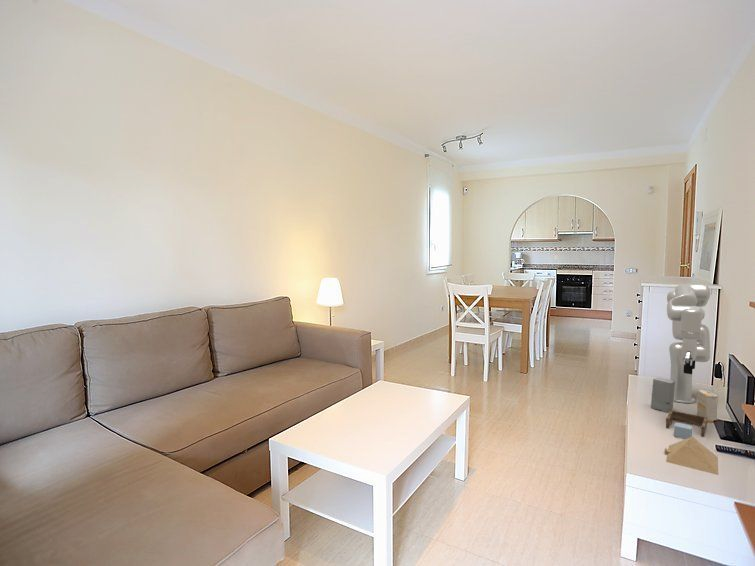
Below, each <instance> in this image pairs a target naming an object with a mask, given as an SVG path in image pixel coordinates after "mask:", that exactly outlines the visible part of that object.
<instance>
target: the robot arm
mask: <svg viewBox="0 0 755 566" xmlns="http://www.w3.org/2000/svg"><path fill="white" fill-rule="evenodd" d="M710 297H711V289H710V288H709V286H708V285H706V284H705V283H704V284H703V283H681V284H678V285H677V286H676V287H675V288H674V290H673V291H669V292H668V293H667V295H666V301H667V304H666V315H667V318H668V319H669V320H670V321H671V323H672V325H671V326H672V329H671V331H672V337H673V339H675V340H678V342H677V341H676V342H673V343H671V344H670V345H669V347H668V350H669V357H670V378H669V380H673V381H675V389H674V400H673V402H677V403H682V404H693V403H695V402H696V399H695V398H694V397H693V396H692V392H693V391H692V388H693V370H695V369H696V362H697V363H707V362H709V361H710V357H711V341H710V340H711V339H710V338H711V337H710V336H711V335H710V330H709V328H708V326H707V325H705V324H702V321H703V319H705V316H706V314H705V310H704V309H703V308H702V307H706V306H707V304H708V302H709V300H710ZM679 341H682V342H679Z"/></svg>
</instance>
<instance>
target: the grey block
mask: <svg viewBox="0 0 755 566" xmlns="http://www.w3.org/2000/svg"><path fill="white" fill-rule="evenodd" d="M673 436H674V437H676V438H679V439H682V440H685V439H687V438H690V437H693V426H692V425H691V424H686V423H682V422H675V423H674V427H673Z"/></svg>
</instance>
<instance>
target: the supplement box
mask: <svg viewBox="0 0 755 566" xmlns="http://www.w3.org/2000/svg"><path fill="white" fill-rule="evenodd" d="M696 397H697V398H696V399H697V401H696V415H697V416H702V417H706V418H707V423H714V422H713V421H714V420H717V421H718V402H719V401H718V399H719V397H718V395H716V394H715V393H713V392H711V391H709V390H706V389H705V390H704V389H700V390H699V389H698V390H697V395H696Z"/></svg>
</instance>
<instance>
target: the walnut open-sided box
mask: <svg viewBox="0 0 755 566" xmlns="http://www.w3.org/2000/svg"><path fill="white" fill-rule="evenodd" d="M673 421H674V422H678V423H682V424H687V425H691V426H692V425H693V426H698V427H701V426H702V427H701V428H700V429H701V431H700V432H701V433H700V435H701V437H703V438H704V437H705V435H706V431H707V428H708V422H707V418H706V417H702V416H697V414H693V413H692V414H691V413H687V412H681V411H676V410H674V409H673V410H671V411H670V412H668V414H667V417H666V419H665V428H666V429H667V430H668V429H670V426H671V424H672V422H673Z"/></svg>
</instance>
